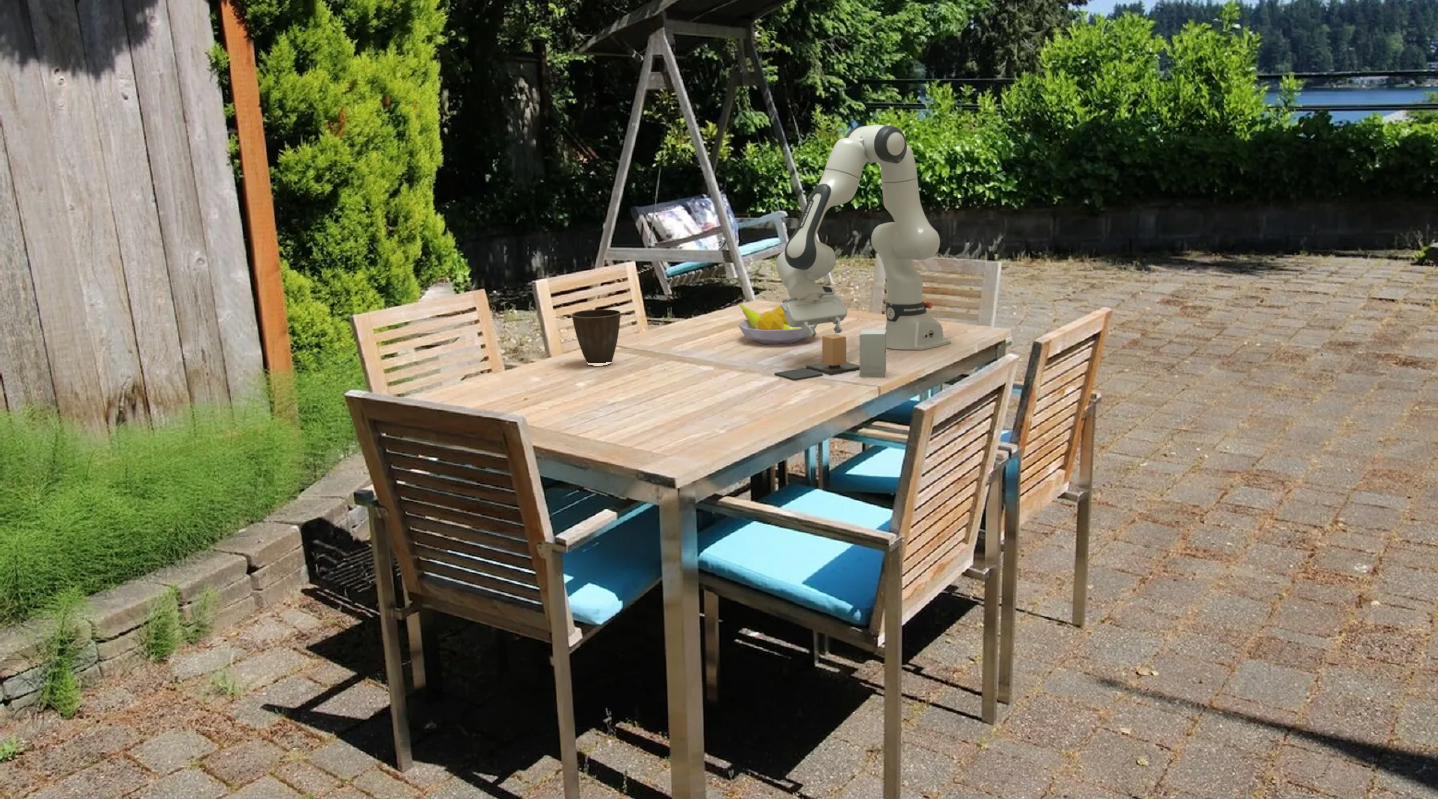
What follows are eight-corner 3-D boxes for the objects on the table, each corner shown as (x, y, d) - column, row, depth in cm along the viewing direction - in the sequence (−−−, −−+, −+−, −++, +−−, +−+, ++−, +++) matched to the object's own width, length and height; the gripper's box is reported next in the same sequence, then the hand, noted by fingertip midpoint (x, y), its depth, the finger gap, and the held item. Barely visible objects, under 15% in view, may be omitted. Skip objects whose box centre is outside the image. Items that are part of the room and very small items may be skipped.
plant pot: (565, 367, 371) (562, 315, 367) (592, 357, 384) (589, 308, 380) (606, 370, 364) (603, 318, 360) (632, 361, 377) (629, 310, 373)
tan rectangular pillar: (835, 360, 359) (835, 334, 357) (846, 363, 355) (846, 336, 353) (822, 362, 356) (822, 336, 354) (832, 365, 352) (832, 338, 350)
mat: (802, 370, 356) (802, 368, 356) (822, 375, 348) (822, 373, 347) (774, 374, 351) (774, 372, 351) (794, 380, 342) (794, 378, 342)
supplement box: (885, 377, 343) (885, 333, 340) (858, 377, 344) (858, 333, 341) (886, 372, 350) (886, 329, 347) (861, 371, 351) (861, 329, 348)
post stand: (838, 363, 364) (837, 333, 362) (863, 369, 354) (863, 339, 352) (806, 368, 358) (805, 338, 356) (830, 375, 348) (830, 344, 346)
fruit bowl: (834, 340, 399) (834, 306, 396) (768, 351, 384) (767, 316, 382) (783, 329, 422) (782, 297, 419) (719, 339, 407) (718, 306, 404)
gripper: (782, 293, 354) (802, 331, 348) (838, 287, 365) (858, 323, 359) (774, 307, 359) (793, 344, 353) (829, 300, 369) (848, 336, 364)
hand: (826, 333), depth 356 cm, fingers open, 8 cm apart
